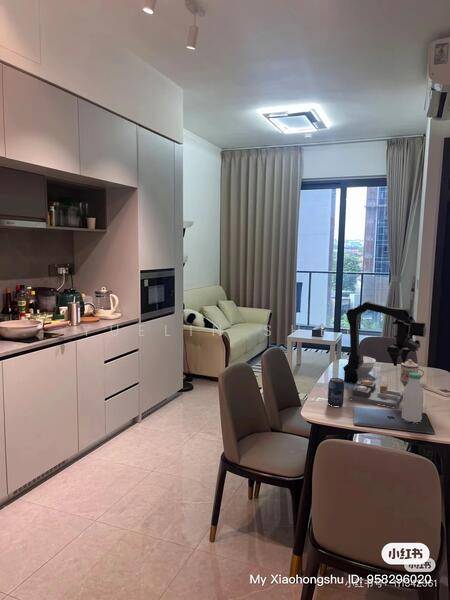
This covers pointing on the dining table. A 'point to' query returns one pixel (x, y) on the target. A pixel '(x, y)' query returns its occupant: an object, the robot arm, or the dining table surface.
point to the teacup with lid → (408, 370)
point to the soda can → (336, 392)
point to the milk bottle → (413, 399)
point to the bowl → (366, 366)
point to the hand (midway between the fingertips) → (399, 364)
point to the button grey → (362, 388)
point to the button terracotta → (366, 382)
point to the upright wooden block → (383, 388)
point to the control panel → (376, 395)
